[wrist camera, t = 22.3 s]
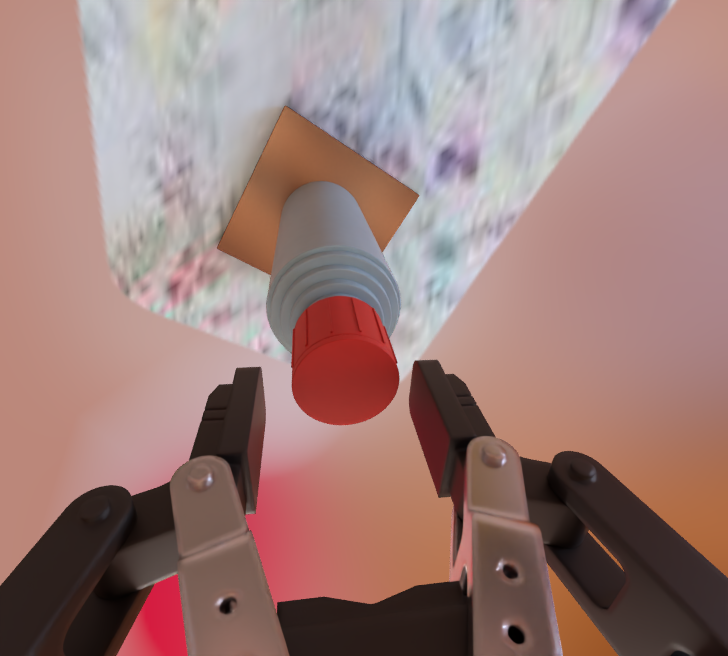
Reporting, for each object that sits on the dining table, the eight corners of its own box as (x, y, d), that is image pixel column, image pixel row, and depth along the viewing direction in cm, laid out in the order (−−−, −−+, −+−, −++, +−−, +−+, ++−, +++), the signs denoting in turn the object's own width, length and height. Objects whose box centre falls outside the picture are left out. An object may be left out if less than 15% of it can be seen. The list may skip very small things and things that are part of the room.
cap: (321, 279, 15) (326, 320, 12) (400, 319, 16) (420, 365, 13) (277, 351, 16) (272, 404, 13) (353, 383, 17) (362, 437, 15)
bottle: (305, 164, 28) (309, 264, 12) (377, 208, 30) (465, 346, 14) (266, 237, 30) (224, 409, 14) (336, 274, 32) (371, 460, 16)
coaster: (285, 105, 26) (285, 105, 26) (418, 194, 30) (419, 195, 30) (217, 246, 30) (216, 248, 30) (343, 308, 34) (343, 311, 34)
